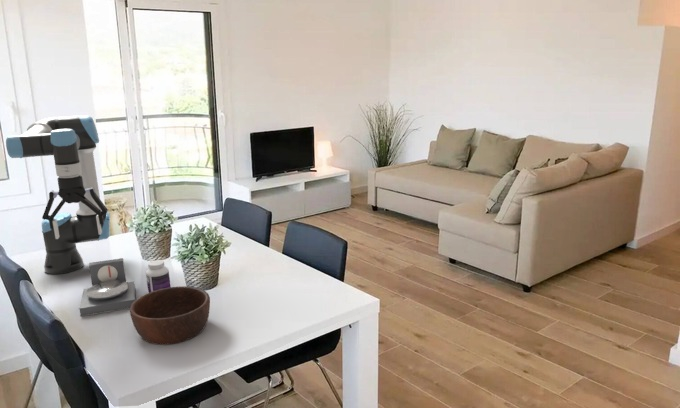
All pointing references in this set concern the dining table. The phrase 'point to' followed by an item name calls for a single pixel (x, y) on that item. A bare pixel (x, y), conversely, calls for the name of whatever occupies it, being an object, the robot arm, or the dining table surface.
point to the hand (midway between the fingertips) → (79, 235)
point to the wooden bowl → (170, 314)
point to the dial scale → (103, 273)
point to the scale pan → (107, 289)
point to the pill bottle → (157, 276)
